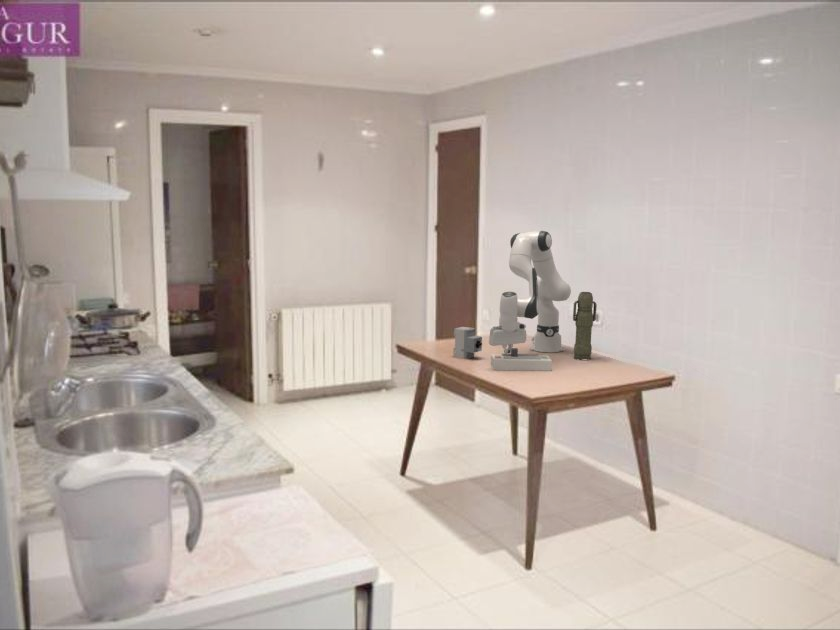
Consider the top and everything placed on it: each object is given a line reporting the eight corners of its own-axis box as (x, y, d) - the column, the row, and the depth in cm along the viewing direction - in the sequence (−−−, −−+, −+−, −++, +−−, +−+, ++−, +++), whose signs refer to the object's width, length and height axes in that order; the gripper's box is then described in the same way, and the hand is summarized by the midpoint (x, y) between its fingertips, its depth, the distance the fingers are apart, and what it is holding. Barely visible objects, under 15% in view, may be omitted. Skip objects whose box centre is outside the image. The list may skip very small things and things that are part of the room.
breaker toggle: (510, 356, 356) (511, 348, 355) (516, 356, 356) (517, 348, 355) (511, 357, 353) (511, 349, 352) (517, 357, 353) (517, 349, 352)
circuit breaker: (476, 360, 369) (477, 331, 367) (453, 356, 378) (453, 328, 375) (484, 358, 375) (484, 329, 373) (461, 354, 383) (462, 326, 381)
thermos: (596, 359, 376) (600, 293, 371) (575, 360, 373) (579, 293, 368) (588, 356, 385) (592, 291, 379) (568, 357, 382) (571, 291, 377)
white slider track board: (490, 364, 362) (491, 352, 361) (546, 364, 362) (547, 353, 361) (493, 369, 349) (494, 357, 348) (551, 370, 349) (552, 358, 348)
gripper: (494, 327, 344) (493, 356, 347) (528, 325, 354) (527, 352, 356) (486, 325, 350) (485, 353, 352) (521, 323, 360) (519, 350, 362)
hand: (507, 353), depth 354 cm, fingers closed
